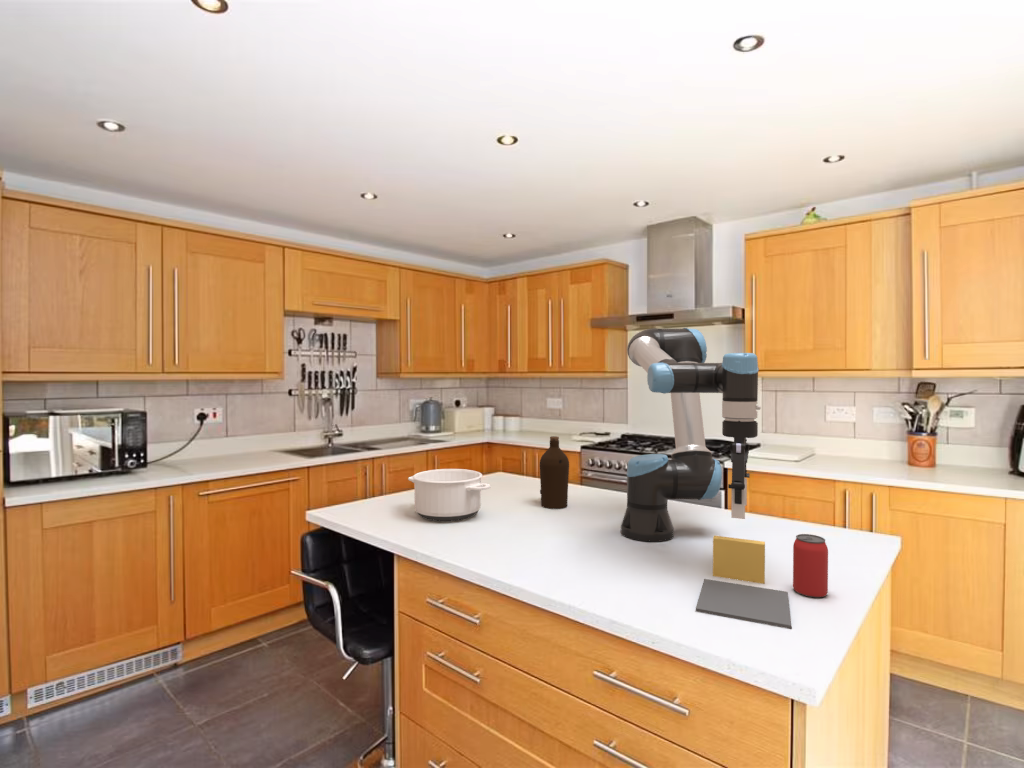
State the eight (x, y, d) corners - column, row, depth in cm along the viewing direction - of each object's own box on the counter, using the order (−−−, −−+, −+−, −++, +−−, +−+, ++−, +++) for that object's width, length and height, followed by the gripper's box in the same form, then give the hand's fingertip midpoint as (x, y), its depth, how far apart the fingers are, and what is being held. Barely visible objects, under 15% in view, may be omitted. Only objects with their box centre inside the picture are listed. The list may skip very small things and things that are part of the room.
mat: (695, 611, 106) (695, 608, 106) (704, 581, 121) (704, 578, 121) (791, 628, 99) (791, 625, 99) (787, 594, 114) (787, 591, 114)
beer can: (786, 587, 118) (786, 533, 118) (814, 585, 119) (815, 532, 118) (805, 599, 111) (805, 542, 111) (834, 598, 112) (835, 542, 112)
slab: (712, 576, 124) (713, 538, 124) (713, 572, 127) (713, 535, 126) (764, 584, 120) (764, 544, 120) (764, 580, 122) (764, 541, 122)
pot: (507, 514, 180) (507, 474, 179) (466, 531, 160) (466, 486, 160) (433, 501, 197) (433, 465, 197) (387, 515, 178) (387, 475, 177)
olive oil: (574, 505, 192) (574, 436, 191) (558, 511, 183) (558, 439, 183) (550, 500, 198) (550, 434, 198) (533, 506, 190) (533, 437, 190)
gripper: (757, 424, 110) (756, 526, 110) (758, 416, 132) (757, 501, 132) (718, 423, 113) (717, 522, 113) (725, 415, 135) (725, 498, 136)
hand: (739, 511), depth 123 cm, fingers open, 13 cm apart
